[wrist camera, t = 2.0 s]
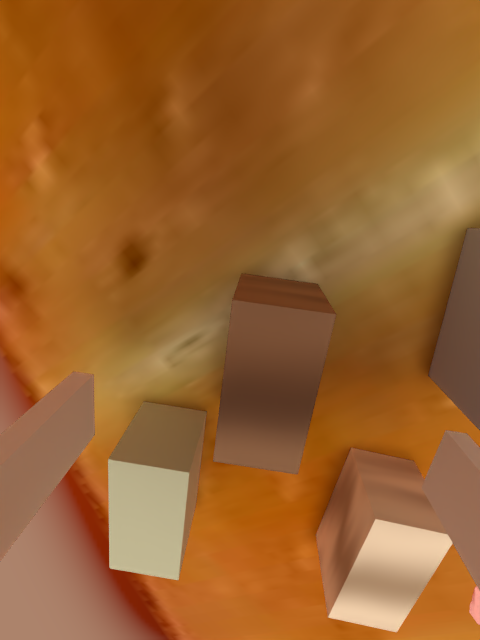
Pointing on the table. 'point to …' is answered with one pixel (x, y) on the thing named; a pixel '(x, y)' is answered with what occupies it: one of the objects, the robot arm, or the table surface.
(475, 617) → the cloth
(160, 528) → the sage brick
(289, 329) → the walnut brick
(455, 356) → the slate brick
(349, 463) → the birch brick
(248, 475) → the table surface
